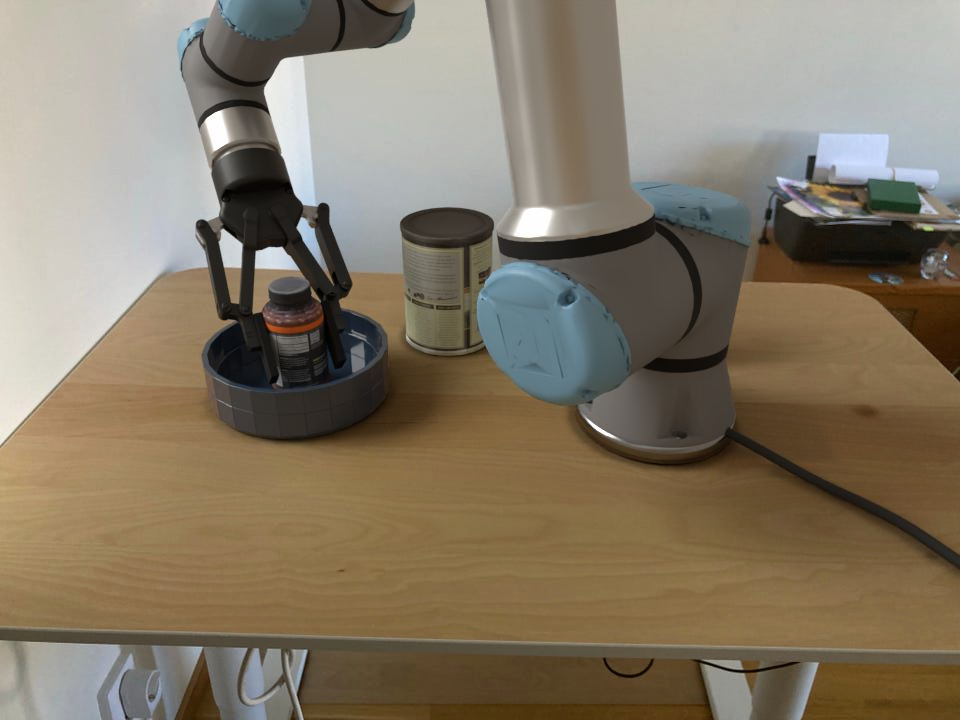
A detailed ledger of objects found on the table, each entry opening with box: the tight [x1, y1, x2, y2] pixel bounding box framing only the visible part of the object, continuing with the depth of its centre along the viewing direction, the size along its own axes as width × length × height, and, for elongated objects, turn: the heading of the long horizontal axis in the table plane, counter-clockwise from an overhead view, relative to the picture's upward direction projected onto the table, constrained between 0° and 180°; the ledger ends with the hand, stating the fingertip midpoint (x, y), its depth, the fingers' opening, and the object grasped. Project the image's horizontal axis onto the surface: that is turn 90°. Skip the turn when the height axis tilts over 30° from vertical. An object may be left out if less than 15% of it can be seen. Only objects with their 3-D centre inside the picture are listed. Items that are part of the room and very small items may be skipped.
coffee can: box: [399, 206, 495, 357], centre depth 88 cm, size 10×10×14 cm
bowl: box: [200, 307, 391, 440], centre depth 79 cm, size 18×18×6 cm
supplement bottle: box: [261, 276, 329, 389], centre depth 77 cm, size 6×6×11 cm
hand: (307, 371), depth 76 cm, fingers closed on supplement bottle, 6 cm apart
